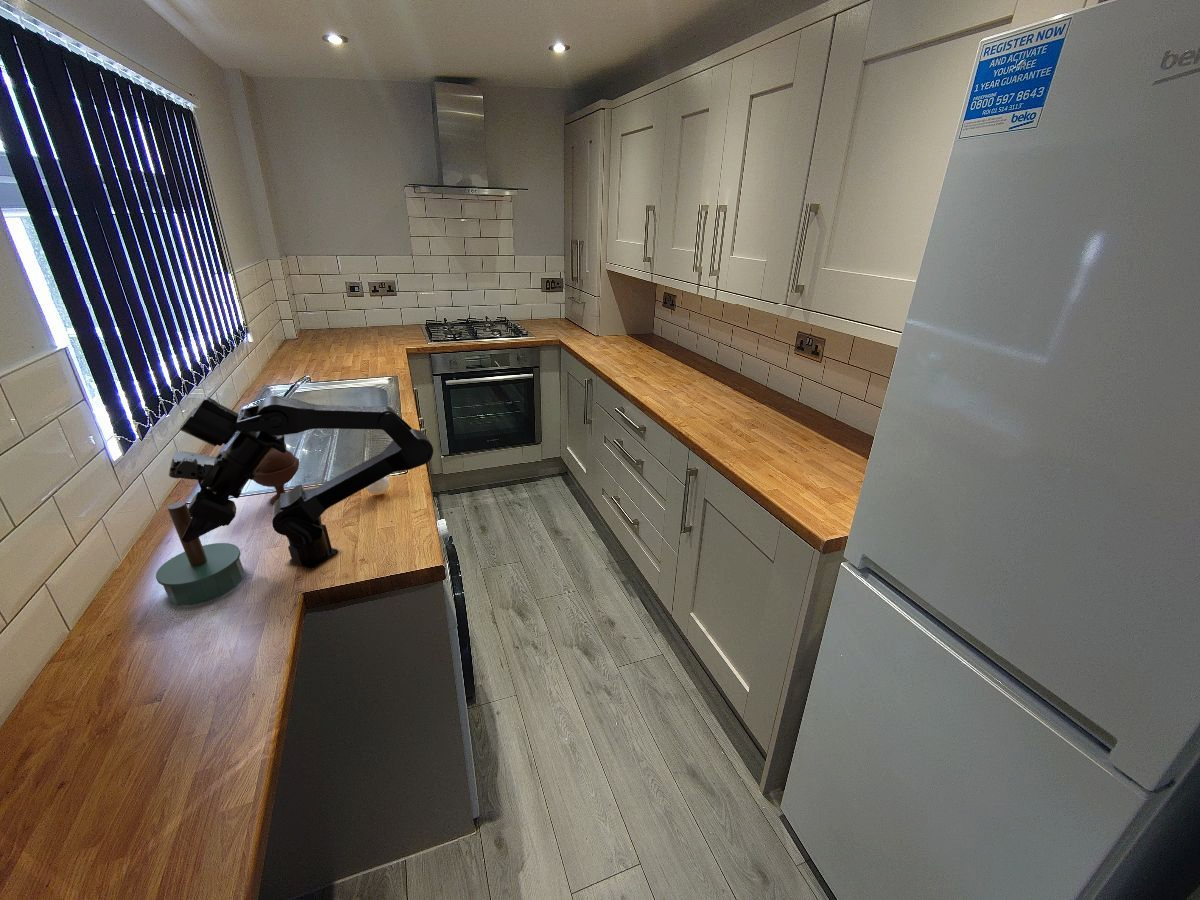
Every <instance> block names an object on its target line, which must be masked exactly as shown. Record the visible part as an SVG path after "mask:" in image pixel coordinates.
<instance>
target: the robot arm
mask: <svg viewBox="0 0 1200 900" xmlns="http://www.w3.org/2000/svg"><path fill="white" fill-rule="evenodd" d="M317 429H325V430H326V429H328V430H382V431H384V432H385V433H386V434H387V435H388V436H389V437H390V438H391V440H392V441H391V442H389V444H388V445H387V446H386V448H385V449H384V450H383V451H382V452H380V453H378V454H376V455H375V456H373V457H370V458H369V459H367V460H365V461H363V462H362V463H360V464H358V465H356V466H354V467H352V468H349V469H348V470H347V471H345V472H343V473H341V474H339V475H337V476H335V477H334V478H331V479H330V480H328V481H326V482H324V483H322V484H320V485H319V486H317V487H314V488H308V489H304V488H303V486H302V484H298V485H296V486H294V487H293V488H292V489H290V490H289V491H285V492H286V493H281V494H280V498H279V499H278V500H276V502H275V503H274V505H272V515H271V516H272V517H271V518H272V519H271V525H272V528H273V531H275V532H276V533H277V534H279V535H281V536H285V537H286V538H287V541H288V546H287V548H288V551H289V555H290V559H289V561H288V562H289V563H290V564H292V565H294V566H298V567H301V568H306V569H308V570H314V569H316V568H317V567H319V566H320V565H322V564H323V563H325V562H326V561H328V560H329V559H331V558H332V557H333V556H336V555H337V554H338V553H339V550H338V549H337V548H333V547H332V543H331V540H330V536H329V532H328V528H327V525H326V524H323V522H322V515H323V514H324V513H325V512H326V510H328V509H329V508H331V507H333V506H335V505H336V504H338V503H340V502H342V501H344V500H346V499H347V498H350V497H351V496H353V495H355V494H357V493H359V492H361V491H362V490H364V489H366V487H368V486H369V485H371V484H373V483H375V482H377V481H379V480H380V479H382V478H384V477H386V476H387V477H388V476H389V475H391V474H393V473H396V472H397V473H398V472H404V471H410V470H412V469H416V468H419V467H421V466H424V465H426V464H428V463H429V462H430V461H431V460H432V458H433V454H434V447H433V445H432V443H431V441H430V440H429V438H428V437H427V436H426V434H425V433H424V432H423V431H421V430H419V429H415V428H412V427H411V426H410V424H409V423H407V422H406V421H405V420H404V419H403V418H402V417H400V415H398V414H397V412H396V411H395V410H394V409H393V408H392V407H390V406H387V405H384V406H363V405H362V406H361V405H359V406H357V405H335V404H334V405H333V404H332V405H331V404H315V403H309V402H306V401H303V400H300V399H296V398H292V397H285V396H282V395H269V396H267V397H265V398H264V399H263V400H261V402H260V403H259V404H255V405H252V406H248V407H244V408H241V409H238V411H237V412H236V411H234V410H232V409H230V408H228V407H226V406H225V405H222V404H220V402H218V401H216V400H215V399H213V398H211V397H209V396H205V397H204V399H202V401H201V402H200V403H199V404H198V405H197V406H196V407H194V408H193V409H192V411H190V413H189V414H188V416H187V417H186V419H185V420H184V421H183V422H182V424H181V425H180V427H179V429H178V430H179V431H181V432H183V433H185V434H187V435H189V436H191V437H193V438H196V439H198V440H200V441H202V442H204V443H207V444H209V445H210V446H213V447H217V446H219V447H222V445H227V444H228V443H229V442H230V441H231V440H232V439H233V437H234V436H235V434H236V433H237V432H238V433H237V436H235V438H234V439H233V441H232V442H231V443H230V444H229V445H228V447H227V448H226V450H222V451H219V452H218V454H216V456H212V455H207V454H203V453H196V452H191V451H183V450H177V451H174V453H173V455H172V458H171V462H170V467H169V472H168V476H169V478H172V479H184V480H193V481H194V480H196V481H197V482H198V486H199V488H200V490H199V491H197V492H196V493H195V494H194V496H193V498H192V499H191V501H190V502H189V504H188V506H187V508H188V512H189V513H190V515H191V518H192V519H191V521H190V523H189V525H188V527H187V529H186V531H185V533H184V535H183V537H182V541H184V542H187V543H188V542H190V541H192V540H194V539H196V538H198V537H199V538H200V537H201V536H204V535H206V534H208V533H210V532H212V531H214V530H216V529H218V528H220V527H225V526H230V524H231V523H232V521H233V520H234V519H235V518H236V514H237V505H236V502H235V501H234V500H231V499H229V497H232V498H235V499H239V498H240V496H241V495H242V489H243V488H244V487H245V486H246V484H247V483H248V482H249V481H253V480H252V479H253V478H254V476H255V471H256V470H257V469H258V467H259V466H260V465H261V463H262V462H263V461H264V460H265V458H266V457H267V456H268V454H269V453H270V452H271V450H272V449H273V448H274V449H276V450H278V451H280V452H282V453H286V450H287V444H286V442H285V438H286V437H285V436H286V435H295V434H299V433H303V432H306V431H309V430H317Z"/></svg>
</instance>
